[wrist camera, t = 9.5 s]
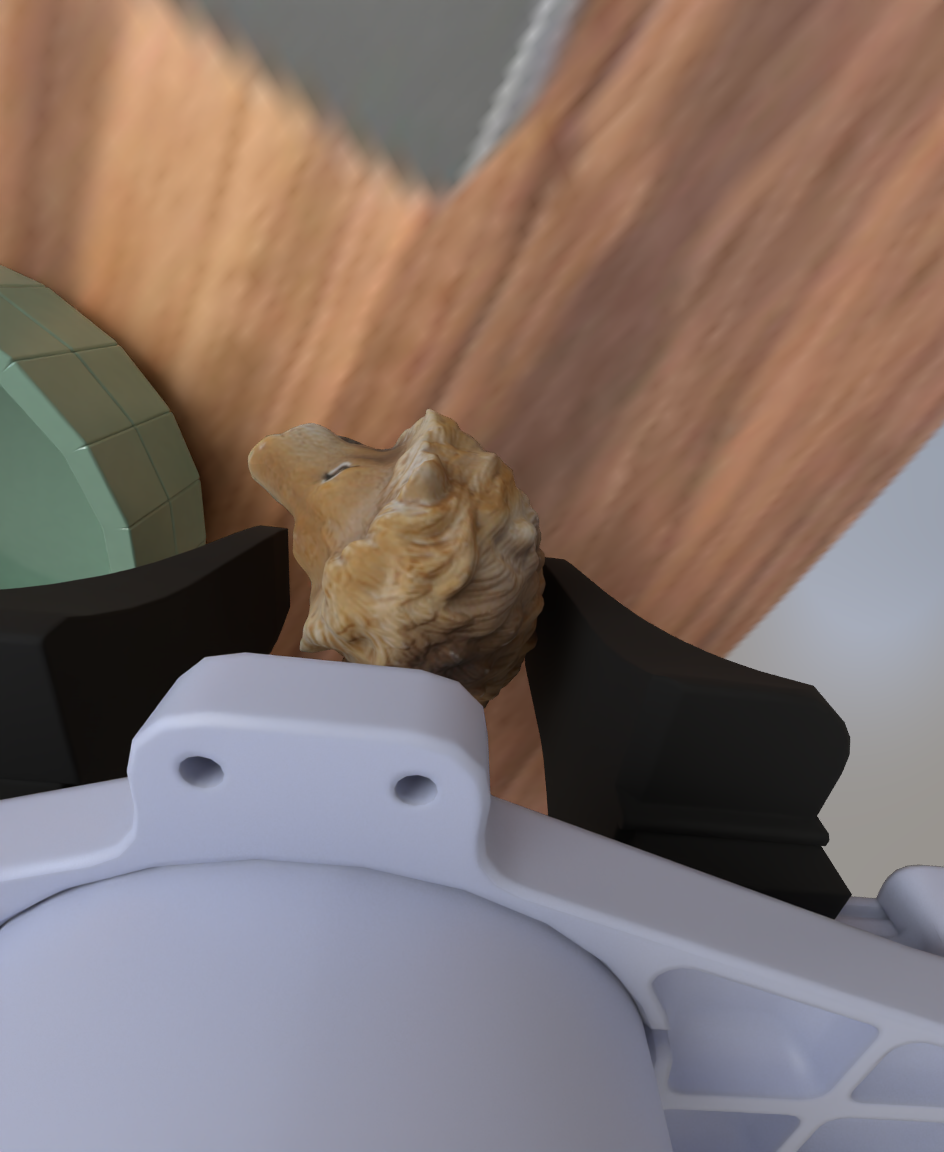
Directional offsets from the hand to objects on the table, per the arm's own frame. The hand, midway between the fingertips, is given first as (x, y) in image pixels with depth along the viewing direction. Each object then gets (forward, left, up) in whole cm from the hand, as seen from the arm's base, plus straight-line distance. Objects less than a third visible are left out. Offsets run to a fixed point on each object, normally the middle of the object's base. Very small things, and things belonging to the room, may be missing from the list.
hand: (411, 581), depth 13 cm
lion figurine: (-1, -2, -3) cm, 4 cm away
